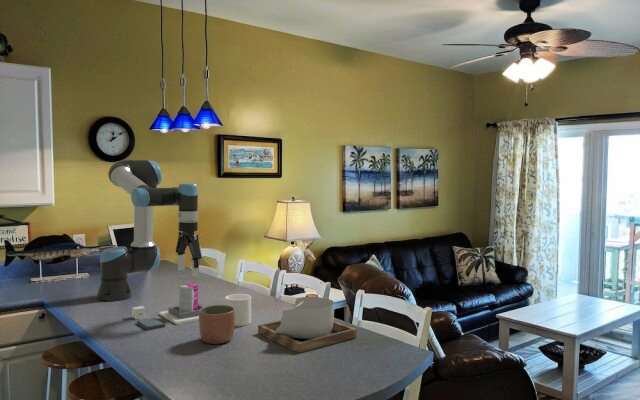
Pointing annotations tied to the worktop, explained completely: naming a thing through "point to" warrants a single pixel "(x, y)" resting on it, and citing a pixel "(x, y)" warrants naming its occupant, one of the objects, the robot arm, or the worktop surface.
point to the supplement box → (188, 298)
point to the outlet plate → (180, 315)
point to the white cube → (138, 312)
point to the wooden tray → (342, 335)
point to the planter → (216, 323)
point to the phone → (150, 323)
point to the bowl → (308, 318)
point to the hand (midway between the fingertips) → (188, 273)
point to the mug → (240, 308)
